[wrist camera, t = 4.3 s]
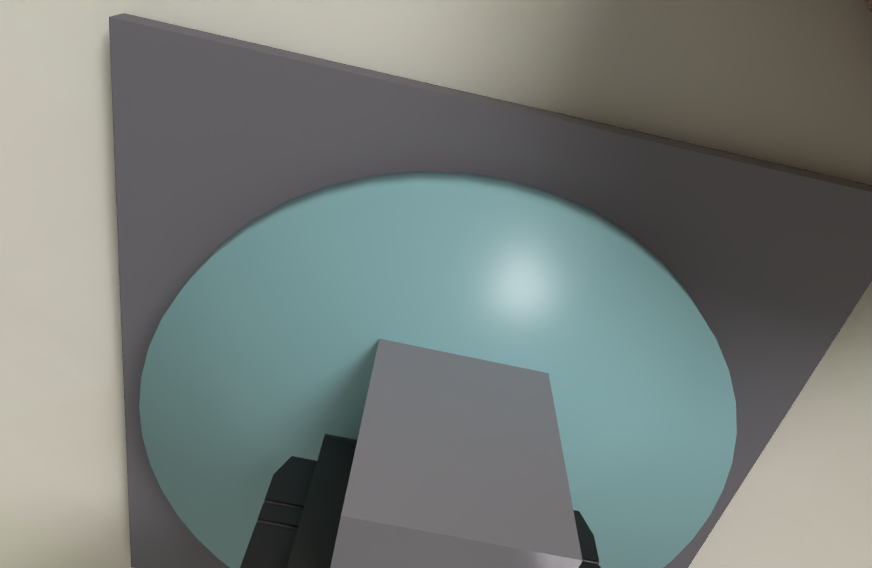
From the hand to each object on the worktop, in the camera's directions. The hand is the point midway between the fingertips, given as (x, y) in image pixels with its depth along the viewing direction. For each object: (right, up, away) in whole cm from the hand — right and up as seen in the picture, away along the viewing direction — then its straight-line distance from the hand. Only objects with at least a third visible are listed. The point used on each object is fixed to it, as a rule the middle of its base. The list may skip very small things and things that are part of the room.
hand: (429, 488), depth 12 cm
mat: (0, +1, +2) cm, 2 cm away
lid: (0, +1, +1) cm, 1 cm away
